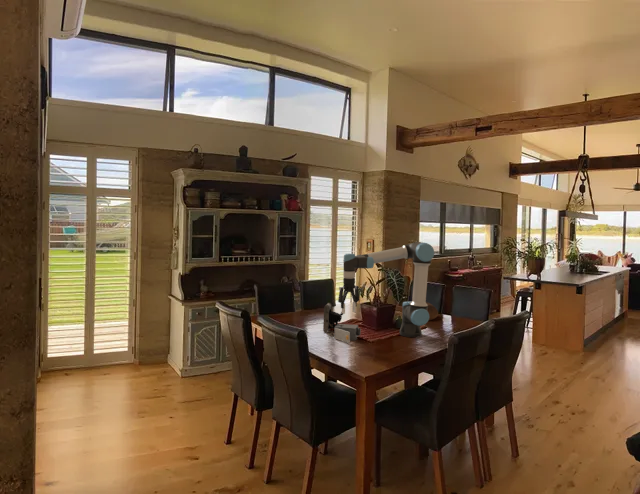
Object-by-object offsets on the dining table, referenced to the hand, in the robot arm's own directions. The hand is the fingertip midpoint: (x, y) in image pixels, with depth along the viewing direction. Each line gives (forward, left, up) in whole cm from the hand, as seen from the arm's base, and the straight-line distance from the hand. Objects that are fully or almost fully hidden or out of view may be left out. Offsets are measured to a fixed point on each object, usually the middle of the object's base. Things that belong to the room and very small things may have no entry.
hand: (348, 312), depth 277 cm
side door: (+5, +1, -19) cm, 19 cm away
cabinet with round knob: (+3, -9, -19) cm, 21 cm away
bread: (-43, -86, -20) cm, 98 cm away
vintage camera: (+14, -22, -19) cm, 32 cm away
